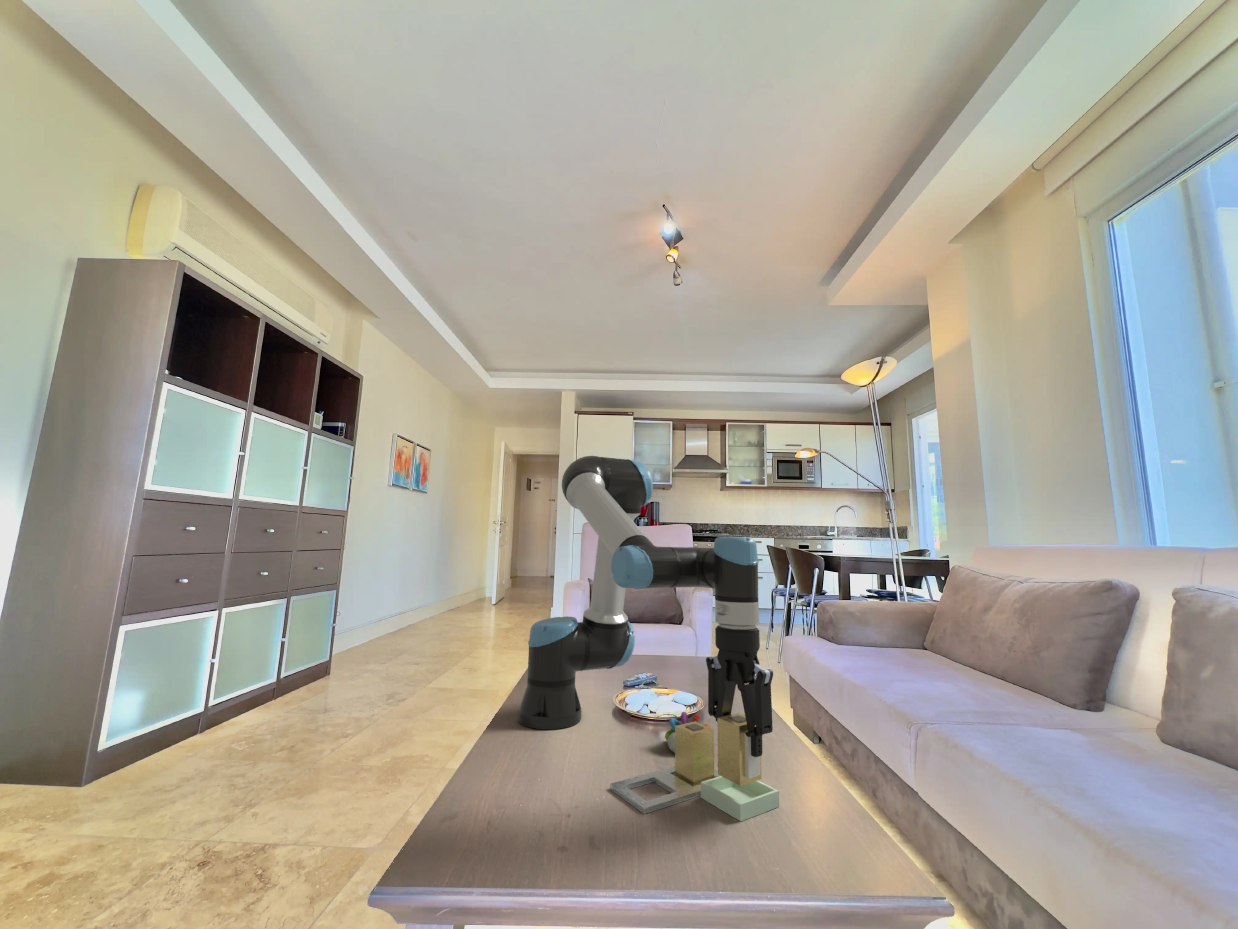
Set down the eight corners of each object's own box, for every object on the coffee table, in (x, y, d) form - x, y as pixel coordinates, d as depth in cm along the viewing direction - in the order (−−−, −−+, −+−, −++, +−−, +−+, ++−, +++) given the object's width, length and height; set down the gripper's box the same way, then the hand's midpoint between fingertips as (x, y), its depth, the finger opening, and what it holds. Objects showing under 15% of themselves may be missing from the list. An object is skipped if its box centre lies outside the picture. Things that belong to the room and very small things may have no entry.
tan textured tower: (675, 778, 94) (675, 725, 96) (695, 772, 97) (695, 720, 98) (693, 789, 90) (693, 733, 92) (714, 782, 93) (713, 728, 94)
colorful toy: (710, 760, 103) (710, 721, 104) (662, 754, 105) (662, 716, 106) (712, 744, 111) (712, 708, 112) (667, 740, 113) (667, 704, 115)
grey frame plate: (610, 788, 90) (610, 783, 90) (696, 764, 100) (696, 760, 101) (644, 814, 81) (644, 808, 81) (734, 784, 92) (734, 779, 92)
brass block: (718, 774, 87) (717, 716, 88) (739, 768, 90) (738, 712, 91) (740, 786, 83) (739, 725, 84) (761, 779, 86) (760, 720, 87)
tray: (700, 797, 87) (700, 782, 87) (738, 785, 92) (738, 770, 92) (740, 821, 80) (740, 804, 80) (779, 806, 85) (779, 790, 85)
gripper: (686, 620, 96) (687, 756, 92) (762, 635, 81) (767, 797, 77) (716, 618, 100) (717, 748, 96) (793, 631, 85) (799, 785, 81)
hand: (739, 769), depth 87 cm, fingers closed on brass block, 5 cm apart
